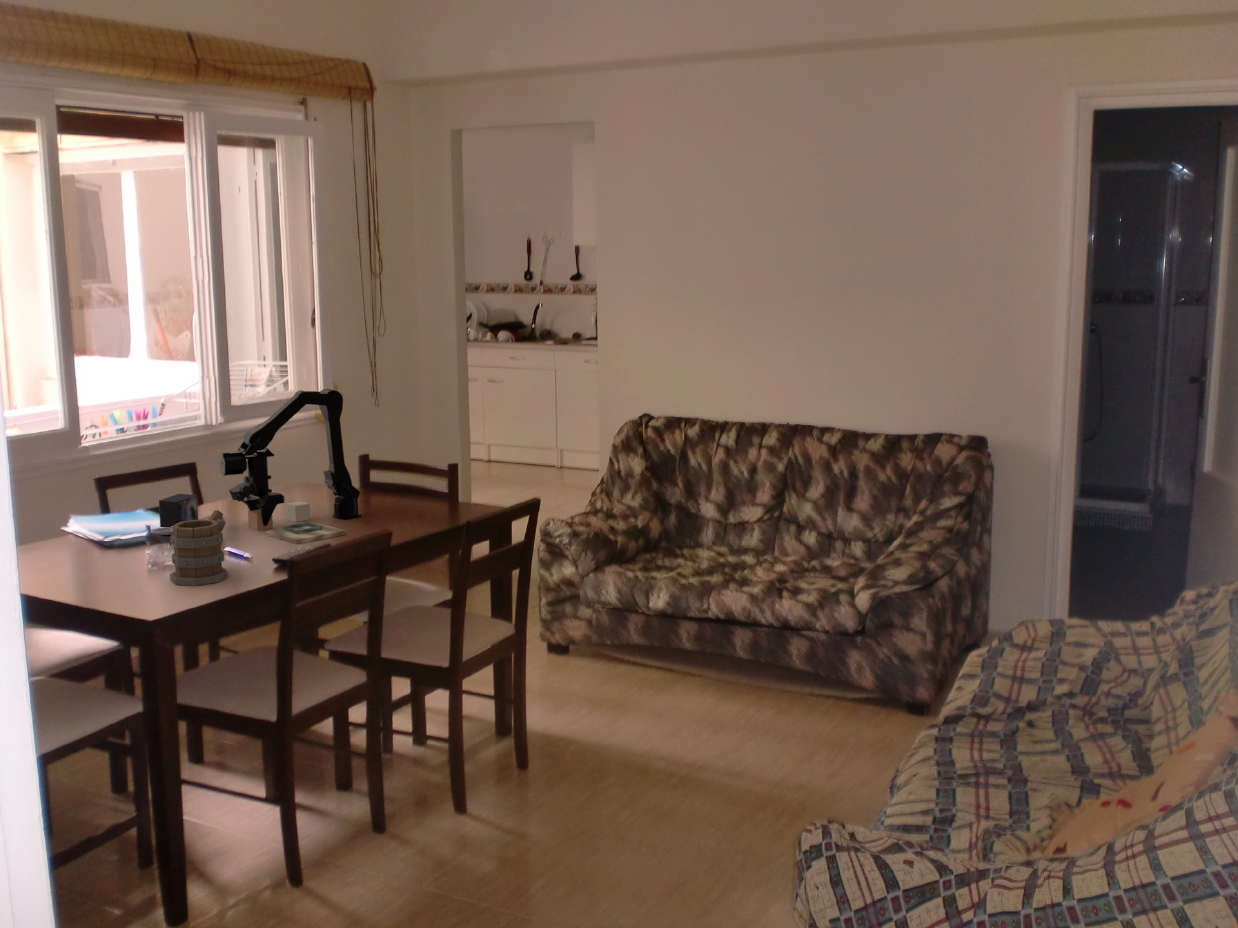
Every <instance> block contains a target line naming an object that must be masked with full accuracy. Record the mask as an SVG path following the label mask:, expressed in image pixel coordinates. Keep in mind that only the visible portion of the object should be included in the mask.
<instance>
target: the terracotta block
mask: <svg viewBox="0 0 1238 928" xmlns="http://www.w3.org/2000/svg"><path fill="white" fill-rule="evenodd" d="M247 516H248V517H247V522H248V529H251V530H255V531H262V530H267V529H269V530H270V529H273V528H274V526H273V525H274V524H273V523H274V522H273V521H274V520H273V515H272V516H271V518H270V520H269V523H268V525H267V526H264V525H263V521H262V515H261V509H259V510H253V511H249V510H248V511H247Z"/></svg>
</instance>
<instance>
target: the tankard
mask: <svg viewBox="0 0 1238 928" xmlns="http://www.w3.org/2000/svg"><path fill="white" fill-rule="evenodd" d="M223 516H224V513H223V512H222V511H220V510H219V509H217V510H216V509H215V510H213V512H212V514H211V515H210V516H209V518H208V519H198V520H191V521H183V522H180V523H177V524H175V525H173V534H172V535H171V536H169V537H170V545H172V546H173V553H172V554H171V563H172V565H174V567H175V571H173V572H171V573H170V574H169V580H170V581H171V582H173V583H174V584H175V585H176V586H185V587H186V586H188V587H190V586H191V587H198V586H206V585H210V584H211V585H212V584H217V583H219V582H221V581H223V580H226V579H227V578H229V570H227V569H226V568H224V567H223V566H222V565H223V562H224V561H225V552H224V551H223V550H222V549H221V547H222V546H221V543H223V542H224V533H223V532H222V531H220V530H221V529H220V528H221V527H220V523H219V522H218V520H223Z"/></svg>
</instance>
